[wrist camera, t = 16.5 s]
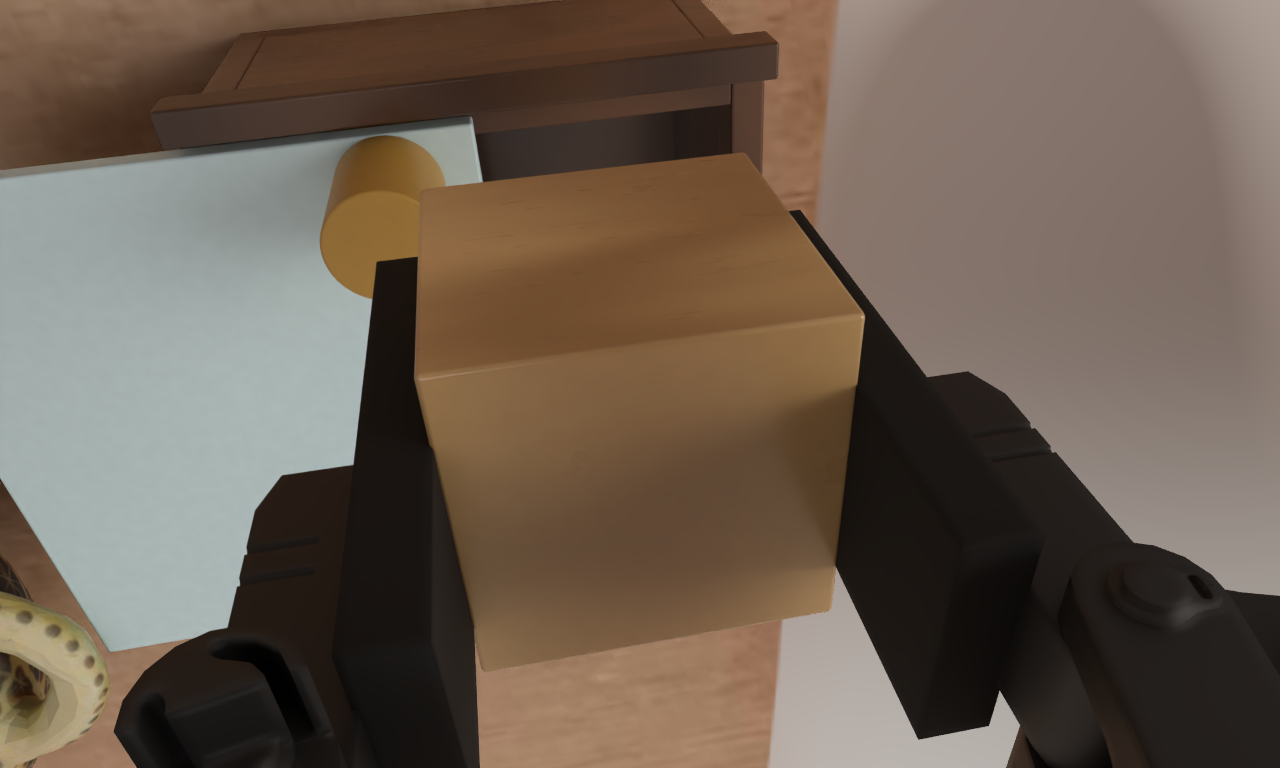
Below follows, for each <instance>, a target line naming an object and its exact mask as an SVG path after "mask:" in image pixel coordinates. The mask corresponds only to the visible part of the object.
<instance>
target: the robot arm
mask: <svg viewBox="0 0 1280 768" xmlns="http://www.w3.org/2000/svg"><path fill="white" fill-rule="evenodd" d="M789 213H790V214H791V215H792V217H793V218H794V220H795V221H796V222H797V224H798V225H799V226H800V228H801V229H802V230H803V232H804V233H805V234H806V236H807V237H808V238H809V240H810V241H811V242H812V244H813V245H814V246H815V248H816V249H817V250H818V252H819V253H820V255H821V256H822V257H823V259H824V260H825V261H826V263H827V264H828V265H829V267H830V268H831V269H832V271H833V272H834V273H835V275H836V276H837V277H838V279H839V280H840V281H841V283H842V284H843V285H844V287H845V288H846V290H847V291H848V292H849V294H850V295H851V296H852V298H853V299H854V300H855V302H856V303H857V304H858V306H859V307H860V308H861V310H862V311H863V312H864V315H865V321H864V330H863V339H862V347H861V356H860V365H859V374H858V382H857V385H856V393H855V401H854V410H853V419H852V427H851V436H850V445H849V454H848V462H847V471H846V480H845V489H844V497H843V506H842V515H841V524H840V532H839V541H838V550H837V558H836V568H837V570H838V572H839V574H840V576H841V578H842V580H843V583H844V585H845V587H846V589H847V591H848V593H849V595H850V597H851V599H852V601H853V603H854V605H855V608H856V610H857V612H858V614H859V616H860V618H861V620H862V622H863V624H864V627H865V629H866V631H867V633H868V635H869V637H870V639H871V641H872V643H873V645H874V647H875V650H876V652H877V654H878V656H879V658H880V660H881V662H882V664H883V666H884V669H885V671H886V673H887V675H888V677H889V679H890V681H891V683H892V685H893V687H894V690H895V692H896V694H897V696H898V698H899V700H900V702H901V704H902V706H903V708H904V710H905V712H906V715H907V717H908V719H909V721H910V723H911V725H912V727H913V729H914V731H915V733H916V736H917V738H918V739H924V738H929V737H934V736H939V735H944V734H950V733H955V732H960V731H965V730H970V729H975V728H980V727H985V726H989V724H990V721H991V717H992V714H993V711H994V707H995V704H996V701H997V697H998V694H999V691H1001V693H1002V695H1003V697H1004V698H1005V700H1006V702H1007V703H1008V705H1009V706H1010V708H1011V710H1012V711H1013V714H1014V715H1015V717H1016V719H1017V720H1018V722H1019V724H1020V728H1019V731H1018V734H1017V737H1016V740H1015V743H1014V746H1013V749H1012V752H1011V755H1010V758H1009V761H1008V764H1007V767H1006V768H1280V596H1274V595H1264V594H1253V593H1242V592H1236V591H1230V590H1225V589H1224V588H1223V587H1222V586H1221V585H1220V584H1219V583H1218V581H1217V580H1216V579H1215V578H1214V577H1213V576H1212V575H1211V574H1210V573H1208V572H1206V571H1205V570H1204V569H1202V568H1200V567H1199V566H1198V565H1196V564H1194V563H1193V562H1191V561H1190V560H1188V559H1187V558H1185V557H1183V556H1180V555H1178V554H1175V553H1172V552H1170V551H1167V550H1164V549H1162V548H1159V547H1156V546H1153V545H1146V544H1138V543H1134V542H1133V541H1132V540H1131V539H1130V538H1129V537H1128V536H1127V535H1126V534H1125V533H1124V531H1123V530H1122V529H1121V528H1120V527H1119V525H1118V524H1117V523H1116V522H1115V521H1114V520H1113V518H1112V517H1111V516H1110V515H1109V514H1108V513H1107V512H1106V511H1105V509H1104V508H1103V507H1102V506H1101V504H1100V503H1099V502H1098V501H1097V500H1096V499H1095V497H1094V496H1093V495H1092V494H1091V493H1090V492H1089V490H1088V489H1087V488H1086V487H1085V486H1084V485H1083V483H1082V482H1081V481H1080V480H1079V479H1078V478H1077V476H1076V475H1075V474H1074V473H1073V472H1072V471H1071V469H1070V468H1069V467H1068V466H1067V465H1066V464H1065V463H1064V461H1063V460H1062V459H1061V458H1060V457H1059V456H1058V454H1057V453H1056V452H1054V453H1052V452H1051V449H1050V447H1051V446H1050V445H1049V444H1048V443H1047V441H1046V440H1045V439H1044V438H1043V437H1042V436H1041V435H1040V433H1039V432H1038V431H1037V430H1036V429H1035V428H1034V429H1031V426H1030V422H1029V421H1028V420H1027V418H1026V417H1025V416H1024V415H1023V414H1022V412H1021V411H1020V410H1019V409H1018V408H1017V407H1016V406H1015V404H1014V403H1013V402H1012V401H1011V400H1010V398H1009V397H1008V396H1007V395H1006V394H1005V393H1003V392H1002V391H1000V390H998V389H997V388H995V387H993V386H992V385H990V384H988V383H987V382H985V381H983V380H982V379H980V378H978V377H977V376H975V375H973V374H972V373H969V372H961V373H955V374H948V375H940V376H934V377H926V375H925V374H924V373H923V371H921V369H920V367H919V366H918V365H917V364H916V362H915V361H914V360H913V358H912V357H911V356H910V354H909V353H908V352H907V350H906V349H905V348H904V346H903V345H902V344H901V343H900V341H899V340H898V339H897V337H896V336H895V335H894V333H893V332H892V331H891V329H890V328H889V327H888V325H887V324H886V323H885V321H884V320H883V319H882V317H881V316H880V315H879V313H878V312H877V311H876V309H875V308H874V307H873V306H872V304H871V303H870V302H869V300H868V299H867V298H866V296H865V295H864V294H863V292H862V291H861V290H860V288H859V287H858V286H857V285H856V283H855V282H854V280H853V279H852V278H851V277H850V275H849V274H848V273H847V271H846V270H845V269H844V267H843V266H842V265H841V263H840V262H839V261H838V259H837V258H836V257H835V255H834V254H833V253H832V251H831V250H830V249H829V248H828V246H827V245H826V244H825V242H824V241H823V240H822V238H821V237H820V236H819V234H818V233H817V232H816V230H815V229H814V228H813V226H812V225H811V224H810V222H809V221H808V220H807V219H806V217H805V216H804V215H803V213H802V212H801V211H800V210H795V211H789ZM417 270H418V257H410V258H402V259H394V260H385V261H377V263H376V271H375V280H374V289H373V298H372V306H371V315H370V324H369V333H368V341H367V350H366V359H365V368H364V376H363V385H362V394H361V402H360V411H359V420H358V429H357V437H356V446H355V455H354V464H353V465H348V466H341V467H334V468H328V469H321V470H314V471H307V472H301V473H294V474H287V475H282V476H281V477H280V478H279V480H278V481H277V482H276V483H275V485H274V486H273V487H272V489H271V490H270V491H269V493H268V494H267V495H266V496H265V498H264V499H263V500H262V502H261V503H260V504H259V506H258V507H257V508H256V509H255V512H254V516H253V521H252V525H251V529H250V533H249V538H248V542H247V546H246V548H247V555H244V559H243V563H242V568H241V572H240V576H239V580H240V586H237V589H236V593H235V597H234V602H233V606H232V610H231V614H230V619H229V623H228V627H227V628H223V629H217V630H212V631H209V632H206V633H204V634H202V635H200V636H198V637H196V638H193V639H191V640H189V641H187V642H185V643H183V644H180V645H178V646H176V647H174V648H173V649H172V650H171V651H169V652H168V653H167V654H166V655H164V656H163V657H162V658H161V659H159V660H158V661H157V662H156V663H154V664H153V665H152V666H150V667H149V668H148V669H147V670H145V671H144V673H143V674H142V675H141V677H140V678H139V679H138V681H137V682H136V683H135V685H134V686H133V687H132V689H131V690H130V692H129V693H128V694H127V696H126V697H125V698H124V700H123V701H122V705H121V708H120V712H119V715H118V718H117V722H116V725H115V729H114V733H115V735H116V736H117V738H118V739H119V741H120V742H121V744H122V745H123V747H124V748H125V750H126V751H127V753H128V755H129V756H130V758H131V759H132V761H133V762H134V764H135V765H136V767H137V768H480V761H479V736H478V712H477V688H476V664H475V640H474V626H473V622H472V618H471V613H470V609H469V605H468V600H467V596H466V592H465V587H464V583H463V579H462V574H461V570H460V566H459V561H458V557H457V553H456V548H455V544H454V540H453V535H452V531H451V527H450V522H449V518H448V514H447V509H446V505H445V501H444V496H443V492H442V488H441V483H440V479H439V475H438V470H437V466H436V462H435V457H434V453H433V449H432V448H431V446H430V445H429V441H428V437H427V432H426V428H425V424H424V419H423V415H422V411H421V407H420V402H419V398H418V394H417V389H416V385H415V381H414V365H415V333H416V302H417Z"/></svg>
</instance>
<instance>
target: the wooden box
mask: <svg viewBox="0 0 1280 768" xmlns="http://www.w3.org/2000/svg"><path fill="white" fill-rule="evenodd" d="M778 56H779V44H778V42H777V41H776V40H775V39H774V38H772V37H771V36H770V35H769V34H768V33H767V32H765V31H763V32H753V33H744V34H735V35H733V34H732V33H731V32H730V31H729V30H728V29H727V28H726V27H725V26H724V25H723V24H722V23H721V22H720V20H719V19H718V18H717V17H716V16H715V15H714V14H713V13H712V12H711V11H710V10H709V9H708V8H707V7H706V6H705V5H704V4H703V3H702V2H701V1H700V0H563V1H553V2H543V3H534V4H524V5H515V6H505V7H495V8H486V9H476V10H466V11H457V12H447V13H437V14H428V15H418V16H408V17H399V18H389V19H379V20H370V21H360V22H350V23H341V24H331V25H321V26H312V27H302V28H292V29H283V30H273V31H264V32H255V33H245V34H240V35H239V37H238V38H237V40H236V41H235V43H234V44H233V46H232V47H231V49H230V51H229V52H228V54H227V55H226V57H225V58H224V60H223V61H222V63H221V64H220V66H219V67H218V69H217V70H216V72H215V73H214V75H213V76H212V78H211V80H210V81H209V83H208V84H207V86H206V87H205V89H204V90H203V92H202V93H198V94H189V95H180V96H171V97H162V98H160V99H159V101H158V102H157V103H156V105H155V106H154V107H153V109H152V110H151V111H150V112H149V116H150V119H151V121H152V124H153V126H154V129H155V132H156V134H157V137H158V140H159V142H160V145H161V147H162V149H164V150H168V149H177V148H180V149H187V148H196V147H204V146H213V145H222V144H230V143H239V142H247V141H256V140H265V139H273V138H282V137H291V136H299V135H308V134H316V133H325V132H334V131H342V130H351V129H360V128H368V127H377V126H385V125H394V124H403V123H411V122H420V121H429V120H437V119H446V118H454V117H463V116H471V118H472V120H473V126H474V132H475V138H476V144H477V150H478V156H479V162H480V168H481V174H482V180H483V182H489V181H497V180H506V179H515V178H524V177H532V176H541V175H550V174H558V173H567V172H576V171H585V170H593V169H602V168H611V167H620V166H628V165H637V164H646V163H654V162H663V161H672V160H681V159H689V158H698V157H707V156H716V155H724V154H733V153H745V154H746V155H747V156H748V158H749V159H750V160H751V162H752V163H753V164H754V166H755V167H756V168H757V170H758V171H759V172H760V174H761V175H762V156H763V113H764V80H773V79H777V77H778Z"/></svg>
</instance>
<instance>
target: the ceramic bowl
mask: <svg viewBox="0 0 1280 768" xmlns="http://www.w3.org/2000/svg"><path fill="white" fill-rule="evenodd" d="M109 689H110V679H109V675H108V670H107V666H106V664H105V662H104V660H103V658H102V656H101V654H100V653H99V651H98V649H97V647H96V645H95V644H94V642H93V640H92V639H91V637H90V635H89V634H88V632H87V631H86V630H85V629H84V628H83V627H81V626H80V625H79V624H77V623H76V622H75V621H73V620H72V619H71V618H69V617H68V616H66V615H64V614H61V613H59V612H57V611H54V610H52V609H50V608H47V607H45V606H43V605H40V604H38V603H35V602H33V600H32V598H31V596H30V594H29V592H28V590H27V588H26V587H25V586H24V584H23V583H22V581H21V580H20V578H19V577H18V575H17V574H16V572H15V571H14V569H13V567H12V566H11V565H10V564H9V562H8V561H7V560H6V559H5V558H4V557H3V555H2V554H1V553H0V768H32V767H33V765H34V763H35V761H36V759H37V757H39V756H41V755H43V754H47V753H50V752H52V751H55V750H57V749H59V748H62V747H64V746H66V745H68V744H70V743H72V742H73V741H75V740H77V739H79V738H80V737H82V736H84V735H85V734H86V732H87V731H88V730H89V729H90V728H91V727H92V726H93V724H94V723H95V722H96V721H97V720H98V719H99V718H100V716H101V714H102V712H103V710H104V708H105V706H106V703H107V698H108V694H109Z"/></svg>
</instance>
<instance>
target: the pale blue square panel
mask: <svg viewBox="0 0 1280 768" xmlns="http://www.w3.org/2000/svg"><path fill="white" fill-rule="evenodd" d="M480 182H483V180H482V174H481V168H480V162H479V156H478V150H477V144H476V138H475V132H474V126H473V120H472V118H471V116H463V117H454V118H446V119H437V120H429V121H420V122H411V123H403V124H394V125H385V126H377V127H368V128H360V129H351V130H342V131H334V132H325V133H316V134H308V135H299V136H291V137H282V138H273V139H265V140H256V141H247V142H239V143H230V144H222V145H213V146H204V147H196V148H187V149H178V150H170V151H161V152H153V153H144V154H135V155H127V156H118V157H109V158H101V159H92V160H84V161H75V162H66V163H58V164H49V165H40V166H32V167H23V168H15V169H6V170H0V479H1V481H2V482H3V484H4V486H5V487H6V489H7V490H8V492H9V494H10V495H11V497H12V498H13V500H14V502H15V503H16V505H17V506H18V508H19V509H20V511H21V513H22V514H23V516H24V517H25V519H26V521H27V522H28V524H29V525H30V527H31V529H32V530H33V532H34V533H35V535H36V537H37V538H38V540H39V541H40V543H41V544H42V546H43V548H44V549H45V551H46V552H47V554H48V556H49V557H50V559H51V560H52V562H53V564H54V565H55V567H56V568H57V570H58V572H59V573H60V575H61V576H62V578H63V580H64V581H65V583H66V584H67V586H68V587H69V589H70V591H71V592H72V594H73V595H74V597H75V599H76V600H77V602H78V603H79V605H80V607H81V608H82V610H83V611H84V613H85V615H86V616H87V618H88V619H89V621H90V622H91V624H92V626H93V627H94V629H95V630H96V632H97V634H98V635H99V637H100V638H101V640H102V642H103V643H104V645H105V646H106V648H107V650H108V651H109V652H114V651H120V650H126V649H132V648H137V647H143V646H149V645H155V644H161V643H167V642H172V641H178V640H184V639H190V638H196V637H198V636H200V635H202V634H204V633H206V632H209V631H212V630H217V629H223V628H227V627H228V623H229V619H230V614H231V610H232V606H233V602H234V597H235V593H236V589H237V586H240V580H239V576H240V572H241V568H242V563H243V559H244V555H247V548H246V546H247V542H248V538H249V533H250V529H251V525H252V521H253V516H254V512H255V509H256V508H257V507H258V506H259V504H260V503H261V502H262V500H263V499H264V498H265V496H266V495H267V494H268V493H269V491H270V490H271V489H272V487H273V486H274V485H275V483H276V482H277V481H278V480H279V478H280V477H281V476H282V475H287V474H294V473H301V472H307V471H314V470H321V469H328V468H334V467H341V466H348V465H353V464H354V455H355V446H356V437H357V429H358V420H359V411H360V402H361V394H362V385H363V376H364V368H365V359H366V350H367V341H368V333H369V324H370V315H371V306H372V298H373V289H374V280H375V271H376V263H377V261H385V260H394V259H402V258H410V257H418V239H419V208H420V192H421V190H423V189H427V188H436V187H445V186H454V185H462V184H471V183H480Z"/></svg>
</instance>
